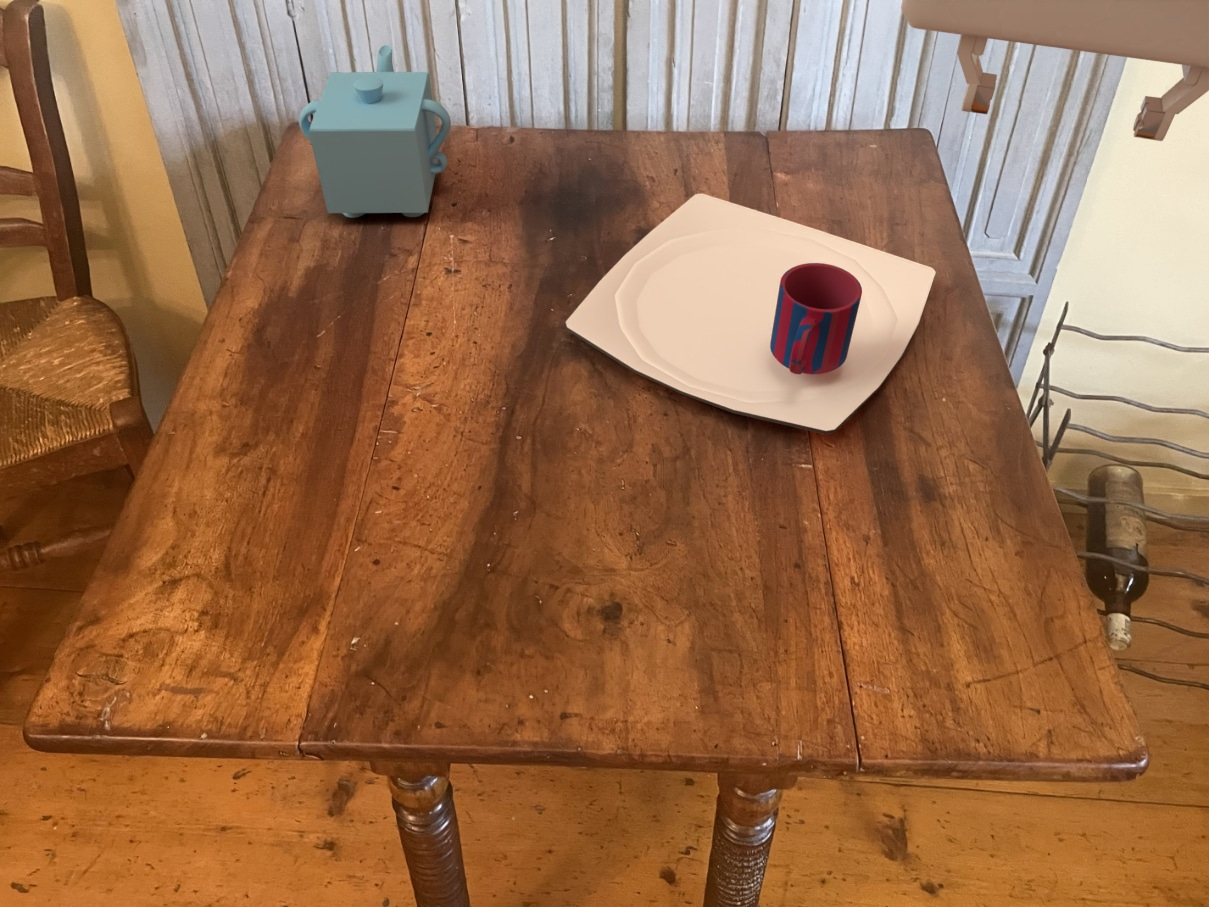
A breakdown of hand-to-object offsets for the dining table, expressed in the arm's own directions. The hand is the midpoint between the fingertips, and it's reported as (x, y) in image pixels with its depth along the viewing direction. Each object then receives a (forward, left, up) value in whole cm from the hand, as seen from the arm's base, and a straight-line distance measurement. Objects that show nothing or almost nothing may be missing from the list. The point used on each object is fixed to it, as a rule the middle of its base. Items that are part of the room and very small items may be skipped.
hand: (1059, 121), depth 57 cm
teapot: (+62, -27, -31) cm, 74 cm away
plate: (+18, -16, -31) cm, 39 cm away
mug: (+12, -8, -29) cm, 32 cm away
